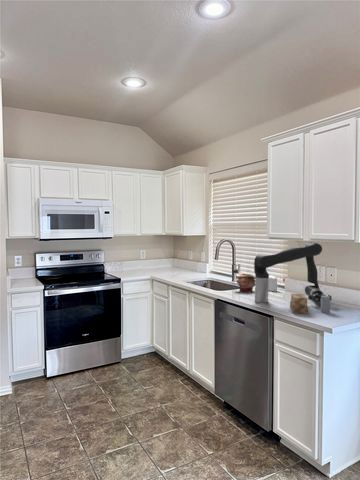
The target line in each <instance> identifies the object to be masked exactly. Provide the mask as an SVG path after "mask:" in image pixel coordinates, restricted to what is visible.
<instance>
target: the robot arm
mask: <svg viewBox="0 0 360 480" xmlns="http://www.w3.org/2000/svg"><path fill="white" fill-rule="evenodd" d="M322 251H323V247H322V245H321V244H319V243H317V242H313V241H310V242H306V244H305V245H304V246H301V247H289V248H286V249H282V250H281V251H279V252H277V253H274V254H267V255H266V254H258V255H256V256H255V257H254V264H253V266H254V268H253V269H254V270H253V271H254V275H255V276H254V277H255V286H254V302H255V303H263V304H264V303H268V302H269V290H268V288H269V276H270V275H269V272H268V270H267V268H271V267H274V266H276V265H279V264H284V263H289V262H293V261H296V260H301V259H304V258H305V260H306V262H305V263H306V270H307V272H306V273H307V277H306V278H307V282H308V283H310V284H313V285H306V286H305V287H304V293H305V295H306V296H307V299H308V300H314V301H316V302H321V296H329V297H330V301H332V299H333V298H332V296H331V295H330V294H328V295H326V294H324V293H323V291H322V290H321V289H320V286H319V280H318V279H319V277H318V276H319V275H318V269H317V266H316V263H315V259H314V257H315V256H318V255H320V254H321V253H322Z"/></svg>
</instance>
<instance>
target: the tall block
mask: <svg viewBox="0 0 360 480" xmlns="http://www.w3.org/2000/svg"><path fill="white" fill-rule="evenodd" d="M320 312H321V314H331V313H330V312H331V300H330V297H329V296H327V295H326V296H321V301H320Z"/></svg>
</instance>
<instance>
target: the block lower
mask: <svg viewBox="0 0 360 480" xmlns="http://www.w3.org/2000/svg"><path fill="white" fill-rule="evenodd" d="M289 309H290V311H291V313H292V314H294V315H295V314H296V315H309V305H307V306H293V304H292V302H291V300H290V303H289Z"/></svg>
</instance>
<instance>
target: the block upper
mask: <svg viewBox="0 0 360 480" xmlns="http://www.w3.org/2000/svg"><path fill="white" fill-rule="evenodd" d="M290 294H291V295H290V296H291V297H290V298H291V299H290V301H291V302H292V304H293V306H308V296H307V295H306V294H302V293H299V294H298V293H290Z"/></svg>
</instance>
